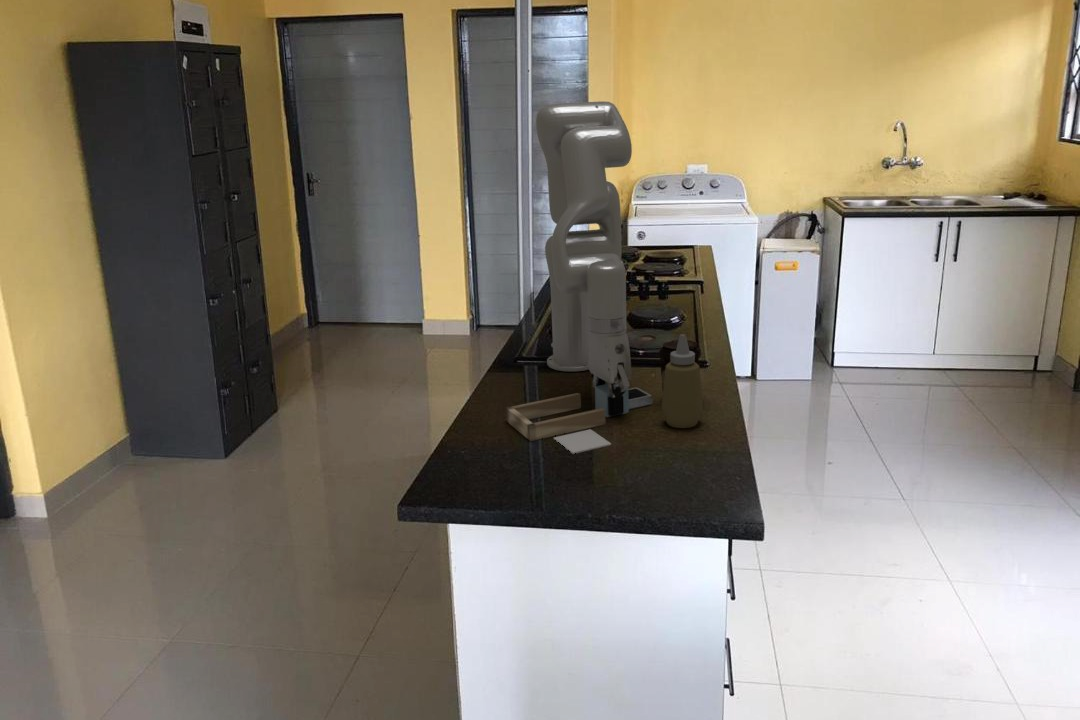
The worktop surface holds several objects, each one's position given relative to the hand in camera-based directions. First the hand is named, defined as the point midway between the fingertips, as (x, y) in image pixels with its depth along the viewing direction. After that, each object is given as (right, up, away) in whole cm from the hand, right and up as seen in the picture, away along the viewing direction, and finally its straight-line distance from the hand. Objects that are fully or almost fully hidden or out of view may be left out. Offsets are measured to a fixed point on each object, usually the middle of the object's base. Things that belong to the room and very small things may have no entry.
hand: (608, 409), depth 176 cm
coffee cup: (+15, +1, +3) cm, 15 cm away
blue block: (+1, 0, 0) cm, 1 cm away
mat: (-6, -5, -14) cm, 16 cm away
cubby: (-10, -2, -4) cm, 12 cm away
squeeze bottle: (+14, -3, -7) cm, 16 cm away
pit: (+5, +1, +4) cm, 7 cm away
